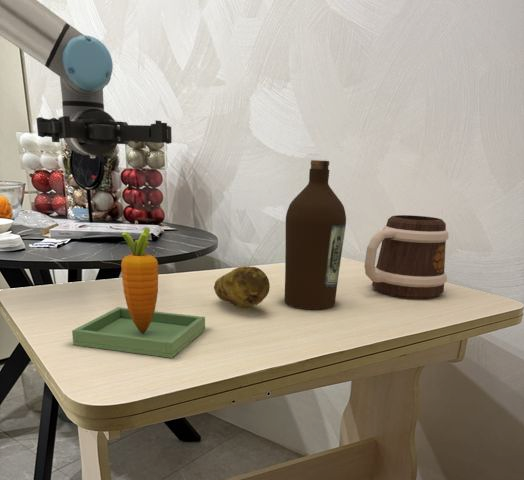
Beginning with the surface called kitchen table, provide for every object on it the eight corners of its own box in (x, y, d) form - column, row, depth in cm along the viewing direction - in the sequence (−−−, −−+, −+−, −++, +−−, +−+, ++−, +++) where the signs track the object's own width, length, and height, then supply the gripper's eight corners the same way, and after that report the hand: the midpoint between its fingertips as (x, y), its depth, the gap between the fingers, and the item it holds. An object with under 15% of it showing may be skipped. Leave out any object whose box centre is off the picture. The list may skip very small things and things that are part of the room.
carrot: (125, 339, 72) (118, 230, 67) (125, 328, 77) (119, 225, 72) (161, 337, 74) (157, 230, 68) (159, 327, 78) (156, 225, 73)
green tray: (73, 344, 71) (71, 330, 71) (118, 319, 83) (117, 306, 82) (172, 358, 68) (171, 343, 67) (205, 329, 80) (205, 316, 79)
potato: (255, 298, 99) (257, 256, 96) (273, 318, 87) (275, 270, 84) (212, 299, 97) (212, 256, 94) (224, 319, 85) (224, 271, 82)
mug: (405, 280, 119) (414, 212, 114) (459, 295, 107) (473, 221, 102) (337, 288, 109) (344, 214, 104) (389, 306, 97) (400, 224, 92)
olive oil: (272, 305, 94) (280, 158, 85) (292, 293, 103) (300, 159, 95) (329, 314, 90) (343, 161, 82) (344, 300, 100) (357, 162, 91)
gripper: (163, 158, 98) (201, 161, 81) (18, 152, 88) (25, 154, 70) (162, 114, 96) (201, 107, 78) (13, 103, 85) (18, 92, 67)
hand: (118, 130), depth 74 cm, fingers open, 13 cm apart
